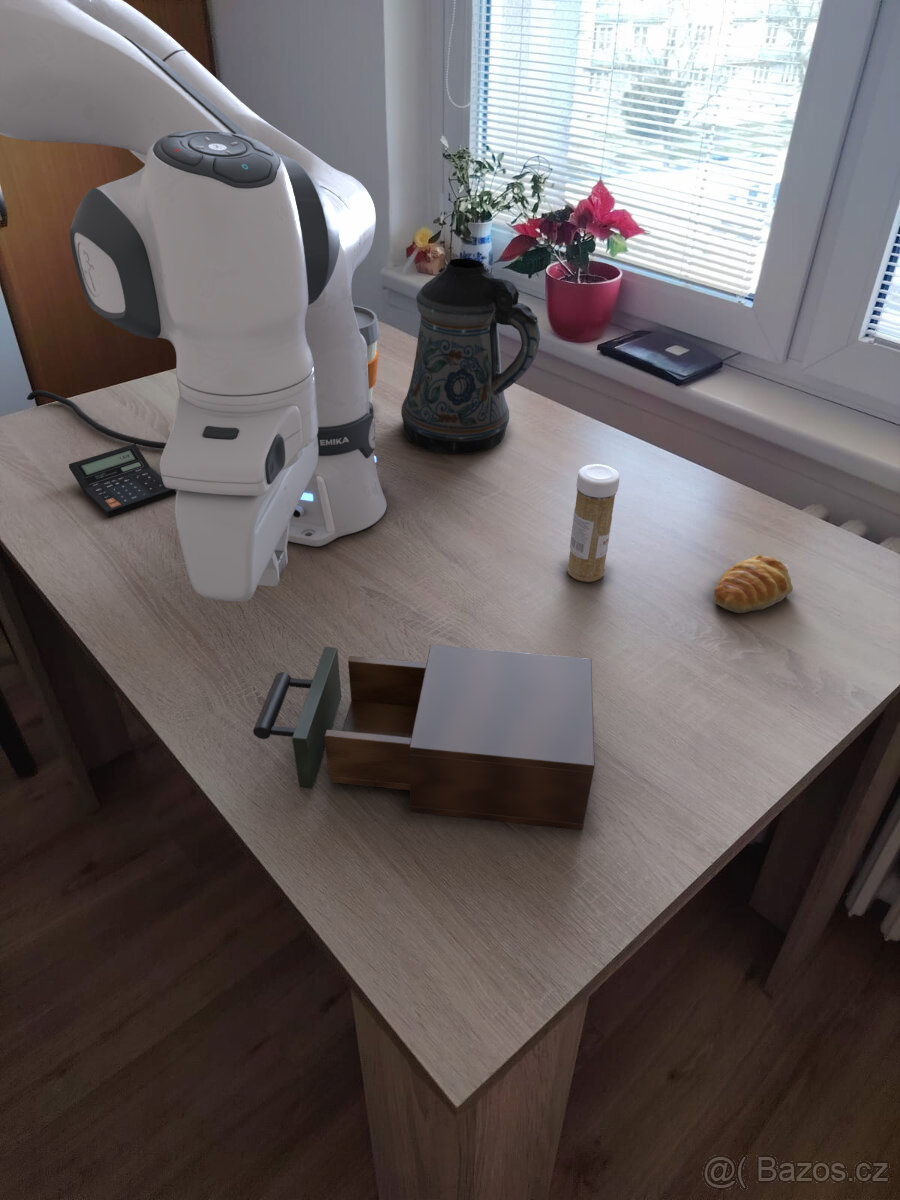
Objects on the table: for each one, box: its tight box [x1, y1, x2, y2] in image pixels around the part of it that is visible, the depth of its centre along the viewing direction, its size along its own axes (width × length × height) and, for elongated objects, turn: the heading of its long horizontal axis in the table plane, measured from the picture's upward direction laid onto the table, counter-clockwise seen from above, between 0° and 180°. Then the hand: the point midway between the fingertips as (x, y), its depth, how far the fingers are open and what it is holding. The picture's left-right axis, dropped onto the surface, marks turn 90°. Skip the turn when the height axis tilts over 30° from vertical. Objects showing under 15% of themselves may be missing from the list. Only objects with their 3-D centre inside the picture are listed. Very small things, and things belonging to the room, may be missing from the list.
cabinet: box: [409, 644, 596, 831], centre depth 72 cm, size 15×13×8 cm
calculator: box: [68, 443, 177, 518], centre depth 111 cm, size 9×12×3 cm
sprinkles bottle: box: [566, 463, 621, 583], centre depth 94 cm, size 5×5×14 cm
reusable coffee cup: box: [353, 304, 380, 403], centre depth 127 cm, size 13×13×15 cm
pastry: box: [713, 554, 794, 614], centre depth 94 cm, size 9×7×4 cm
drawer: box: [252, 646, 427, 791], centre depth 73 cm, size 18×11×6 cm, turn 83°
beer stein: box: [400, 258, 541, 455], centre depth 120 cm, size 16×19×25 cm
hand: (272, 575), depth 64 cm, fingers closed
